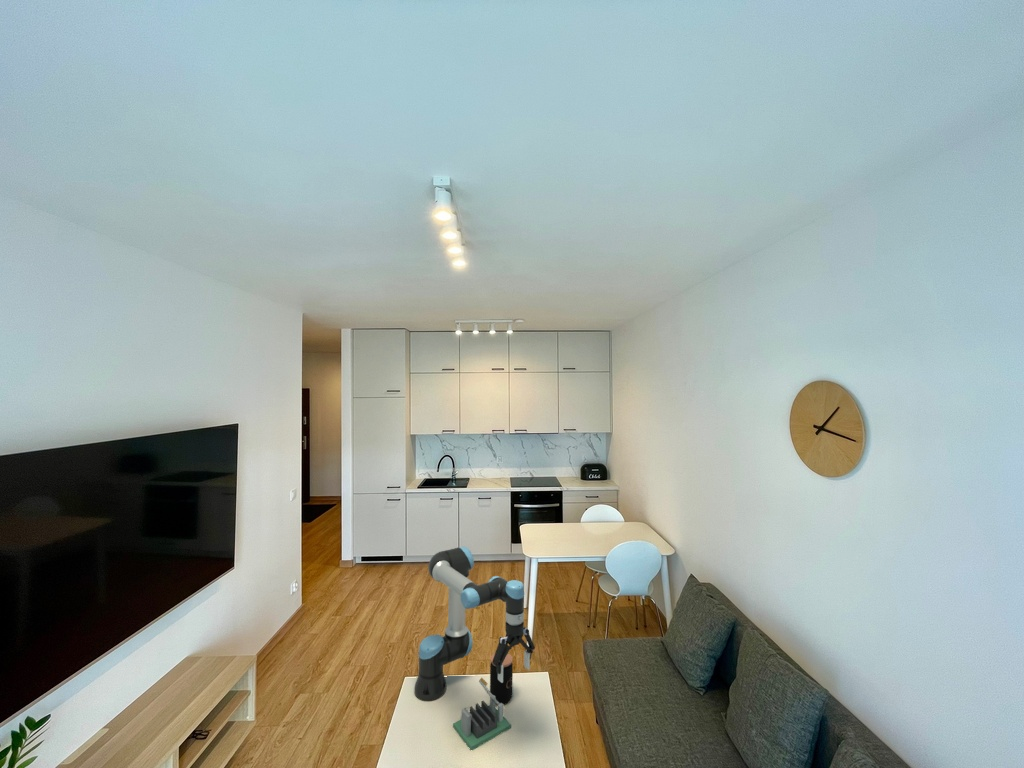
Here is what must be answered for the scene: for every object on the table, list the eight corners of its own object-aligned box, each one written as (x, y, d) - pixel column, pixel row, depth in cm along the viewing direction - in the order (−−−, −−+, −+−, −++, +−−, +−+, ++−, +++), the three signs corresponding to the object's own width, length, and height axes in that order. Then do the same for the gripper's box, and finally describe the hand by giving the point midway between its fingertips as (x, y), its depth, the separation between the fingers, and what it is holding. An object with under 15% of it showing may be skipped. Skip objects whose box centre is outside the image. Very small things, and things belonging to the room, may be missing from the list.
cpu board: (452, 727, 176) (453, 704, 177) (491, 707, 188) (492, 685, 189) (470, 750, 164) (471, 726, 165) (511, 728, 176) (511, 705, 176)
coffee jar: (509, 707, 188) (510, 667, 189) (487, 703, 190) (487, 663, 191) (514, 691, 198) (514, 653, 199) (492, 688, 200) (493, 650, 201)
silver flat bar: (478, 681, 178) (481, 677, 179) (493, 702, 182) (497, 697, 183) (483, 687, 175) (486, 682, 176) (498, 707, 179) (502, 703, 180)
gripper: (494, 635, 159) (493, 691, 158) (543, 616, 174) (542, 667, 173) (484, 626, 165) (483, 681, 164) (532, 608, 180) (531, 658, 179)
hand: (513, 674), depth 168 cm, fingers open, 13 cm apart
